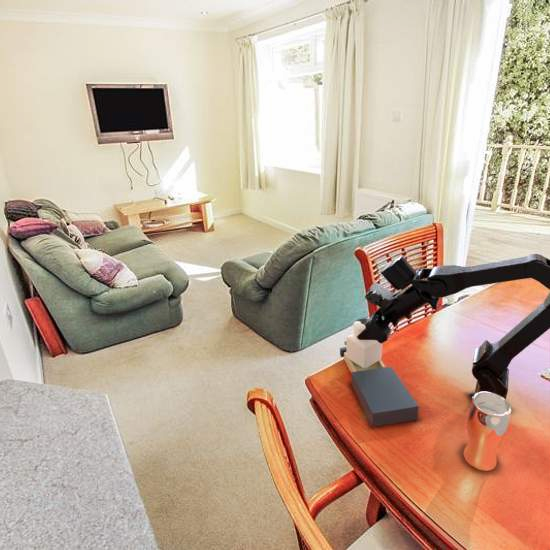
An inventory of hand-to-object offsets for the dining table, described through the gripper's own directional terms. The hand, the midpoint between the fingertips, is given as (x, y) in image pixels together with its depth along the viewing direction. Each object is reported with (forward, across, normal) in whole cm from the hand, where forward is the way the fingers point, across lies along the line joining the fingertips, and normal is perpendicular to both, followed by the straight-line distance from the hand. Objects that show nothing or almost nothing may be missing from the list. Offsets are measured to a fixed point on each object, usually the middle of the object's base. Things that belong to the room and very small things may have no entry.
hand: (363, 329), depth 103 cm
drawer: (+9, -1, +8) cm, 12 cm away
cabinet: (+3, +11, +15) cm, 19 cm away
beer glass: (-13, +18, +31) cm, 39 cm away
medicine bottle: (+6, 0, +7) cm, 9 cm away
